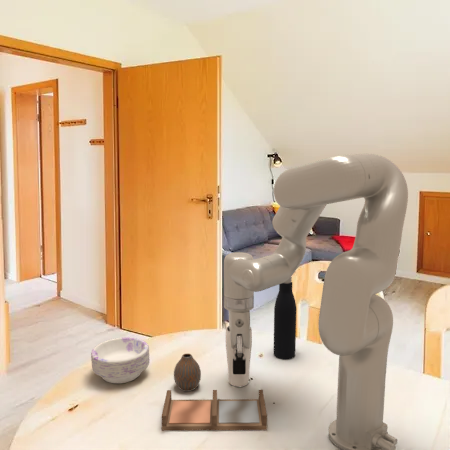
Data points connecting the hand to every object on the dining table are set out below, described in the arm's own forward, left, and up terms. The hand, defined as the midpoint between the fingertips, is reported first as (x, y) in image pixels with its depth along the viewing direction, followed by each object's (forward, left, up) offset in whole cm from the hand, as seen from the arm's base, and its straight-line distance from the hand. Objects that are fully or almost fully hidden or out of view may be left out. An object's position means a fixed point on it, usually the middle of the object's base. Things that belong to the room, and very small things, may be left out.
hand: (238, 366), depth 127 cm
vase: (+6, +12, -5) cm, 14 cm away
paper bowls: (+22, +23, -5) cm, 32 cm away
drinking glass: (0, 0, -5) cm, 5 cm away
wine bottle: (+5, -21, -5) cm, 22 cm away
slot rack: (-9, +14, -5) cm, 17 cm away
